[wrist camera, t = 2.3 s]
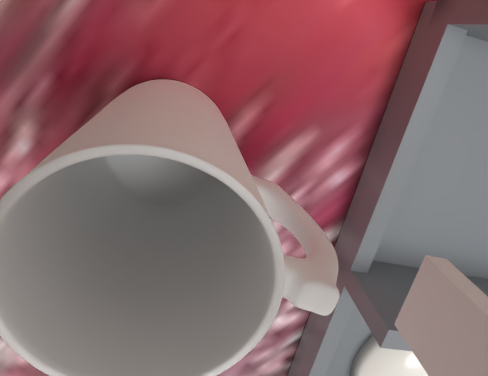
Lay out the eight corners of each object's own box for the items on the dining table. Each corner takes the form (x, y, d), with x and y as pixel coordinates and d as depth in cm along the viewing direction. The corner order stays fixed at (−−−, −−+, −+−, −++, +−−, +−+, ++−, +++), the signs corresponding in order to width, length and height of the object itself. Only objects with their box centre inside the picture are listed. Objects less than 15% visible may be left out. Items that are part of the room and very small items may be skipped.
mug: (81, 182, 20) (-46, 370, 9) (115, 51, 18) (1, 95, 7) (263, 233, 23) (332, 430, 12) (312, 122, 21) (450, 237, 10)
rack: (270, 421, 29) (293, 536, 22) (425, 1, 19) (544, -9, 13) (462, 433, 32) (530, 537, 26) (677, 80, 22) (873, 103, 16)
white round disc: (332, 408, 28) (338, 424, 26) (379, 301, 24) (388, 314, 23) (445, 416, 29) (455, 432, 28) (502, 318, 26) (516, 331, 25)
